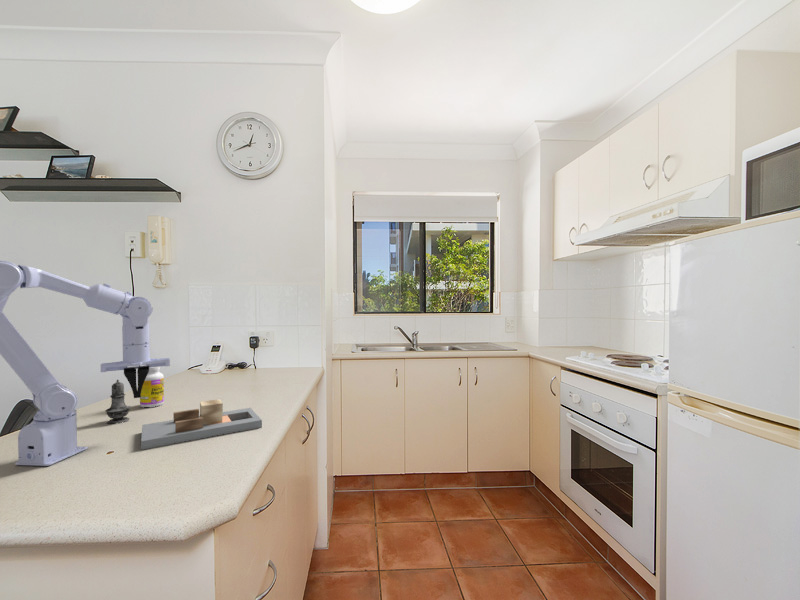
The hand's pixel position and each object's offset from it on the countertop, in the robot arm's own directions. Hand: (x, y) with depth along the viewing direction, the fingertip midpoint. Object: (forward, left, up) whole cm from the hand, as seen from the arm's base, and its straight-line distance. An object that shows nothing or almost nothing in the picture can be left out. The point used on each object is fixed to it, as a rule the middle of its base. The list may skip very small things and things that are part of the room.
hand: (137, 397), depth 99 cm
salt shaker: (+11, +15, -10) cm, 21 cm away
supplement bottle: (+27, +17, -10) cm, 34 cm away
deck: (+5, -14, -10) cm, 18 cm away
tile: (+8, -17, -10) cm, 21 cm away
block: (+6, -16, -8) cm, 19 cm away
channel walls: (+3, -12, -8) cm, 14 cm away
